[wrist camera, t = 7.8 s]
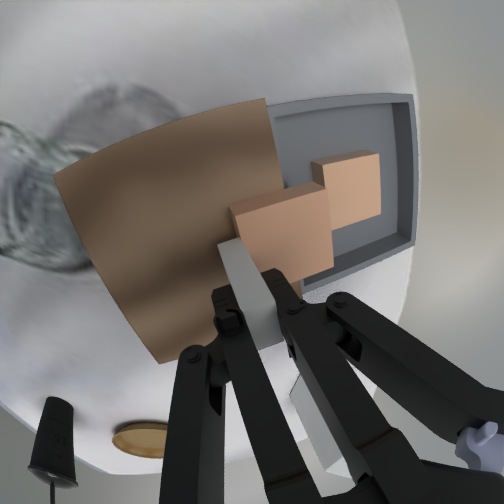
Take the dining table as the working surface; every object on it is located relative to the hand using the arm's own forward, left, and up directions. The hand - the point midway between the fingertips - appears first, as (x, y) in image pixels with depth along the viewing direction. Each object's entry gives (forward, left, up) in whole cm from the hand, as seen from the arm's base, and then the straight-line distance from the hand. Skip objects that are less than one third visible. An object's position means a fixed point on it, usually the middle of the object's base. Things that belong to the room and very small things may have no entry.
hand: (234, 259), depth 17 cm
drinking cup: (+19, -33, -7) cm, 39 cm away
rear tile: (0, +12, -4) cm, 13 cm away
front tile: (0, +4, -2) cm, 4 cm away
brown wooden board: (0, -2, -7) cm, 7 cm away
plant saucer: (+33, -23, -7) cm, 41 cm away
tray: (0, +12, -7) cm, 14 cm away
